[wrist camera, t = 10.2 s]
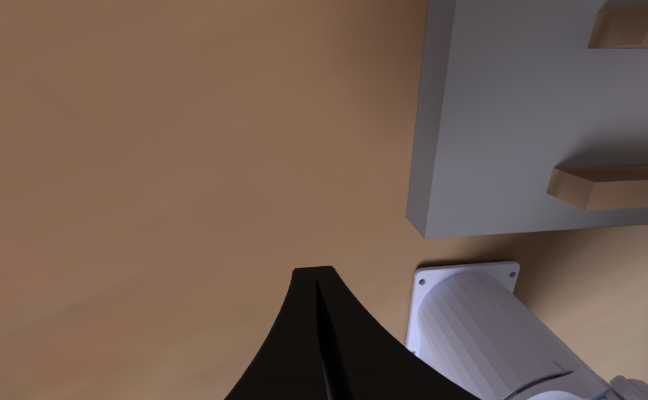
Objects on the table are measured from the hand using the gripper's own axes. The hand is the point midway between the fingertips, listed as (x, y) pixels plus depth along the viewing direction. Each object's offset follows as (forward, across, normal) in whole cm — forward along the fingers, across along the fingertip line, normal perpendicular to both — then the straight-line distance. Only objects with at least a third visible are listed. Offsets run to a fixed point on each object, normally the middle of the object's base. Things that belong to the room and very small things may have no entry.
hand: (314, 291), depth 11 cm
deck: (+9, -22, -5) cm, 24 cm away
